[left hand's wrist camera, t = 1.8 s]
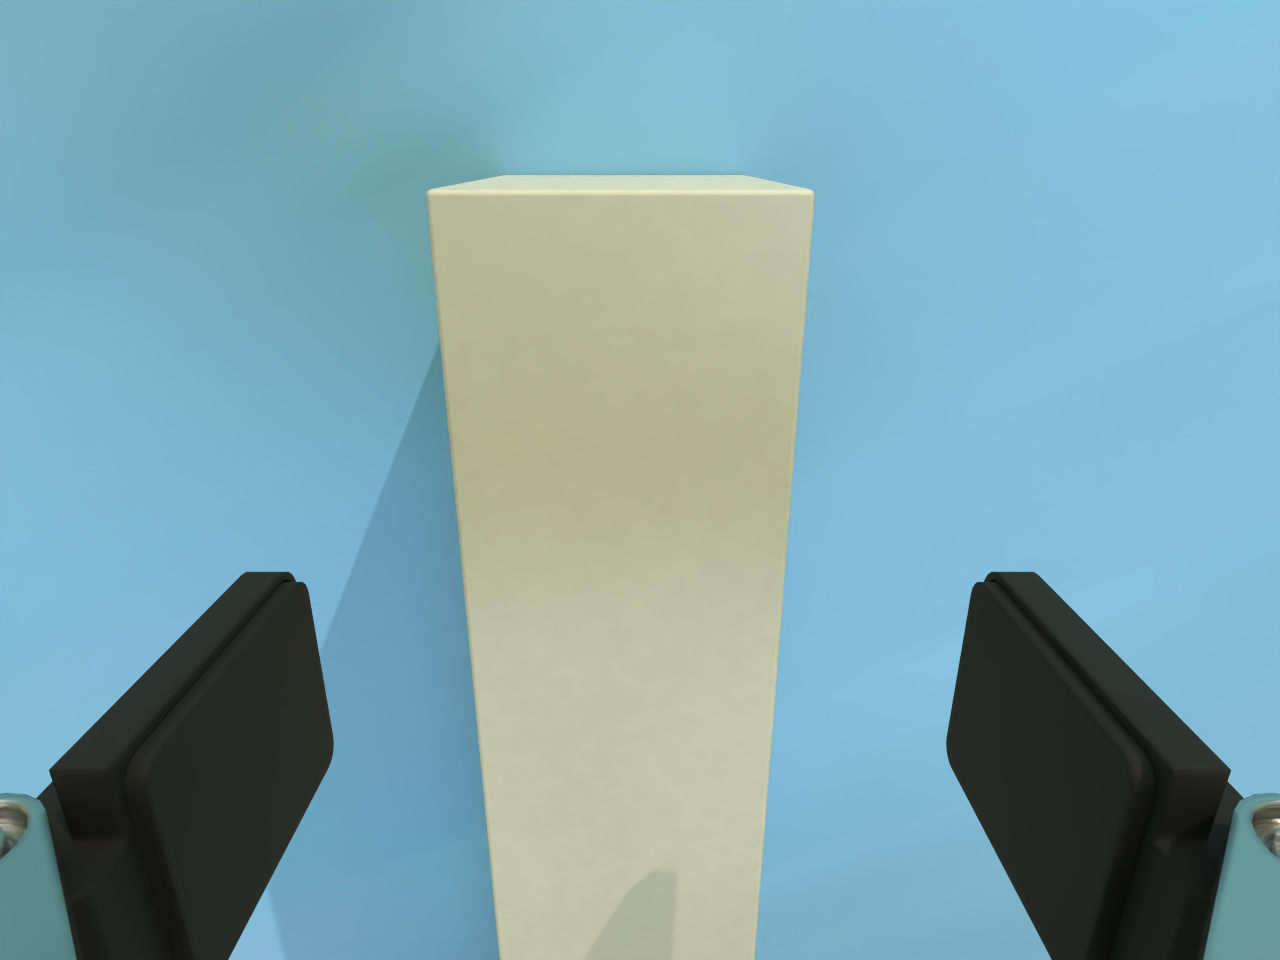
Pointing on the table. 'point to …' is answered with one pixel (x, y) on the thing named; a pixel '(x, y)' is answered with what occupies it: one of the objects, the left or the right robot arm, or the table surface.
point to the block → (623, 541)
